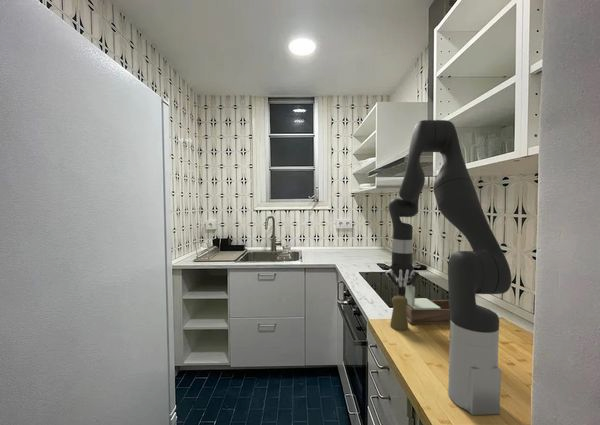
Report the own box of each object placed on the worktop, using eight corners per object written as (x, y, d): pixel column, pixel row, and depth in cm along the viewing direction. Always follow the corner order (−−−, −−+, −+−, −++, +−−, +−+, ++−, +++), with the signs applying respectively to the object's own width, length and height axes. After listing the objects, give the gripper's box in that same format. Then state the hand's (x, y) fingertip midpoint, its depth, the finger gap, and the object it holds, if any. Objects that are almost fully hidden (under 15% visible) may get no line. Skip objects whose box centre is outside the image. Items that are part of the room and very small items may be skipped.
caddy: (475, 323, 105) (476, 310, 105) (410, 324, 104) (410, 310, 104) (456, 311, 117) (456, 299, 117) (397, 312, 116) (397, 299, 116)
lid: (440, 309, 105) (441, 288, 105) (414, 309, 105) (415, 288, 104) (426, 299, 116) (426, 281, 116) (402, 299, 115) (403, 281, 115)
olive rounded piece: (410, 331, 99) (411, 299, 98) (393, 330, 99) (393, 299, 98) (404, 323, 105) (405, 293, 104) (388, 323, 105) (388, 293, 105)
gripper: (388, 252, 105) (387, 299, 106) (424, 252, 106) (422, 299, 106) (381, 249, 113) (380, 293, 113) (414, 249, 113) (413, 292, 114)
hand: (401, 295), depth 110 cm, fingers closed
